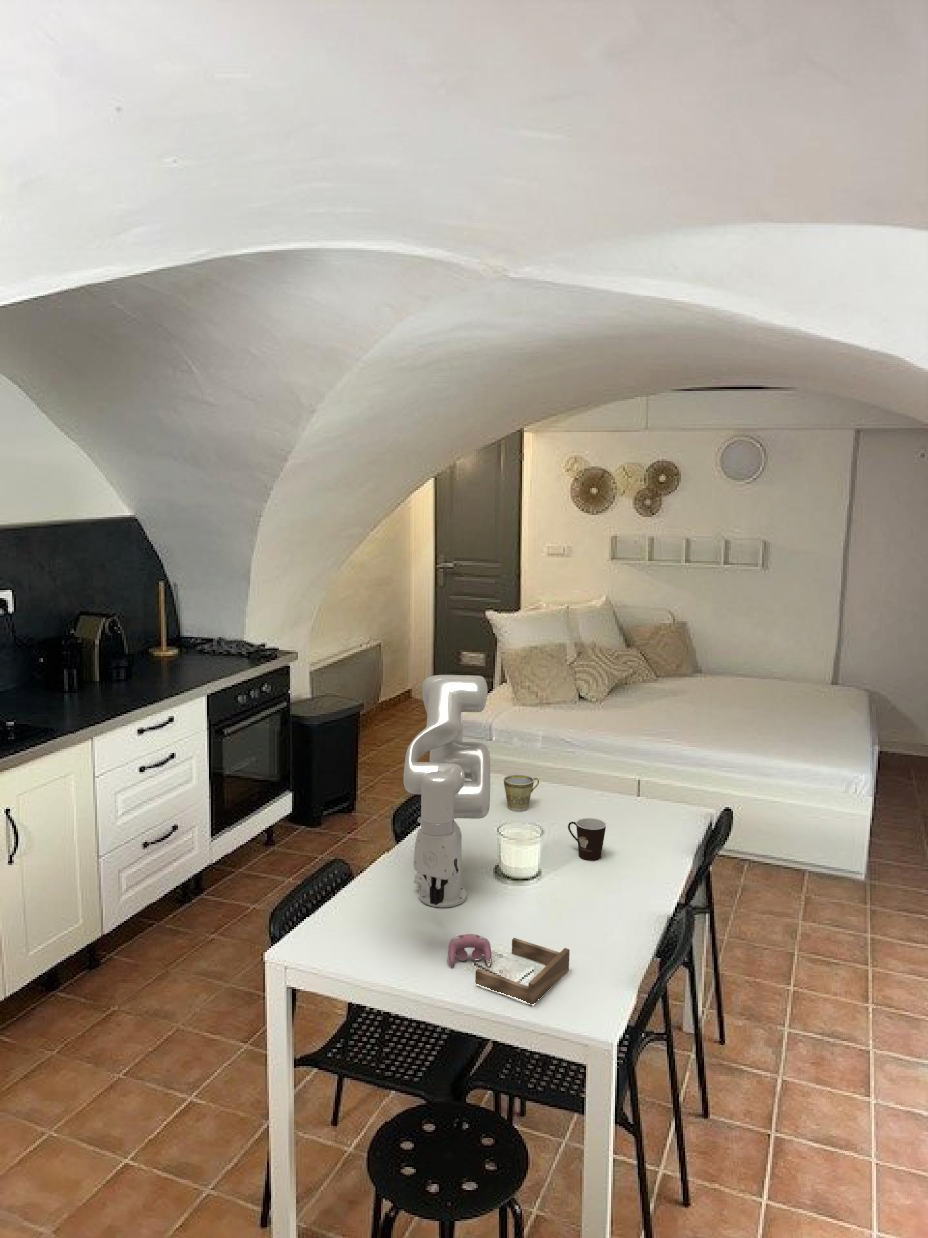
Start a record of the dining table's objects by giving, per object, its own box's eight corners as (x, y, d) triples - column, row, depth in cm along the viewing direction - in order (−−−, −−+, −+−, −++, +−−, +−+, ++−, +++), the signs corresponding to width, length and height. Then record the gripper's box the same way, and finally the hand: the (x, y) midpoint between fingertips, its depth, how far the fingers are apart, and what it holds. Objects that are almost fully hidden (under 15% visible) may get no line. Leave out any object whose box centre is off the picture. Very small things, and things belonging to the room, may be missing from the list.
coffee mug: (610, 860, 264) (611, 827, 262) (584, 864, 260) (585, 831, 259) (590, 844, 274) (591, 813, 273) (564, 848, 271) (565, 816, 269)
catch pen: (475, 985, 199) (475, 964, 198) (513, 951, 213) (514, 931, 212) (532, 1006, 191) (533, 984, 190) (568, 970, 205) (569, 949, 205)
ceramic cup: (513, 815, 296) (513, 786, 295) (497, 805, 305) (498, 777, 303) (546, 809, 302) (547, 780, 301) (530, 799, 311) (530, 771, 309)
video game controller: (490, 966, 210) (490, 933, 212) (492, 967, 205) (491, 934, 207) (447, 966, 209) (447, 934, 211) (448, 968, 205) (448, 934, 207)
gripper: (401, 824, 210) (401, 900, 213) (455, 838, 202) (454, 916, 205) (420, 815, 216) (419, 889, 219) (473, 828, 208) (472, 904, 211)
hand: (436, 902), depth 212 cm, fingers closed
